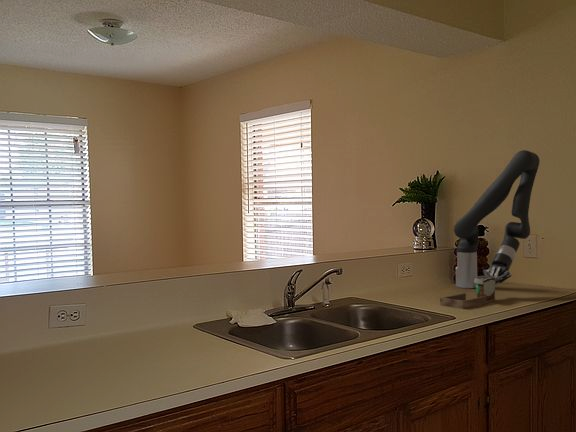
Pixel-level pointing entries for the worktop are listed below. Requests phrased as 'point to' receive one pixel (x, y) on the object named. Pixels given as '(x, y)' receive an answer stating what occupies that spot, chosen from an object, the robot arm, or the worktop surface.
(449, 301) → the bay
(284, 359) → the worktop surface
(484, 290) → the food container
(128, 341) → the worktop surface
